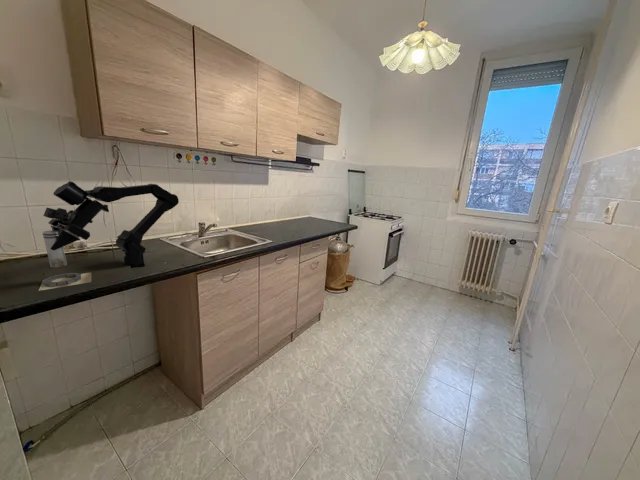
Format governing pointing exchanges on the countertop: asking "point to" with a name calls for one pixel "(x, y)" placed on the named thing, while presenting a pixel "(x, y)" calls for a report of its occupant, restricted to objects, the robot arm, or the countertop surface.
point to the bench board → (84, 279)
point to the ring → (51, 284)
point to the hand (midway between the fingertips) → (49, 248)
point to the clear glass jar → (55, 256)
